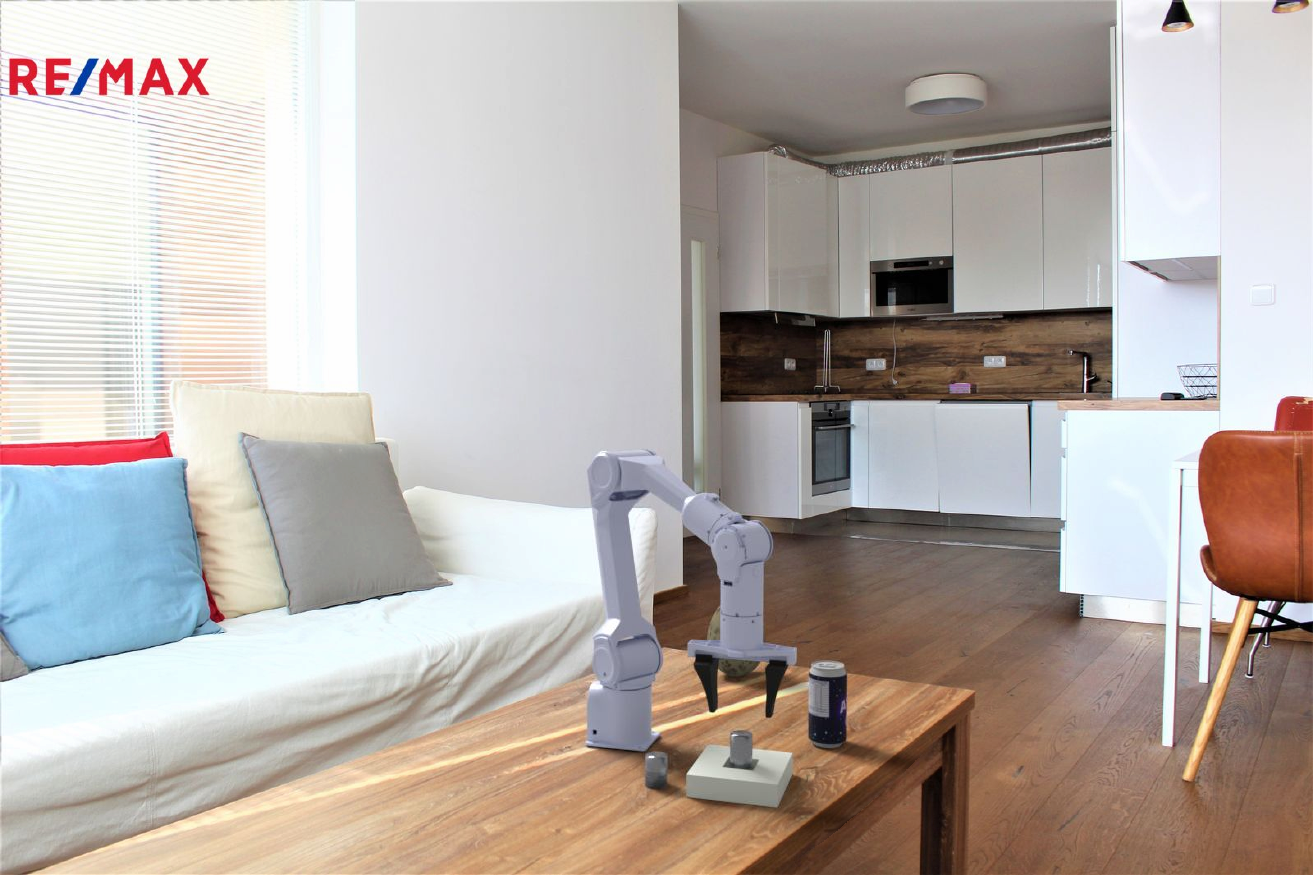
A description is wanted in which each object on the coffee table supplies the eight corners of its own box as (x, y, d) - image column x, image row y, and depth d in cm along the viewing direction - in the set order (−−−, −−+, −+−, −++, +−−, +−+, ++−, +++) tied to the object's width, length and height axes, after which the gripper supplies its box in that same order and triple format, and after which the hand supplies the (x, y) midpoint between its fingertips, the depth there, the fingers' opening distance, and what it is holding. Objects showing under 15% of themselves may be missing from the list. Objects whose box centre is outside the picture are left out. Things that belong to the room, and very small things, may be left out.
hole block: (686, 796, 135) (686, 774, 135) (708, 765, 146) (708, 744, 146) (777, 807, 131) (777, 784, 131) (792, 774, 143) (792, 752, 143)
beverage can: (846, 751, 152) (846, 670, 151) (807, 748, 153) (807, 668, 153) (846, 738, 158) (847, 660, 157) (809, 736, 159) (809, 658, 158)
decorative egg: (715, 666, 199) (715, 589, 198) (770, 671, 195) (771, 592, 195) (700, 681, 189) (700, 599, 188) (757, 686, 185) (758, 603, 184)
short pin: (642, 787, 138) (642, 758, 138) (648, 779, 141) (648, 750, 141) (663, 790, 137) (663, 760, 137) (670, 781, 140) (670, 752, 140)
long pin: (727, 788, 138) (728, 736, 137) (732, 780, 141) (732, 729, 140) (750, 790, 137) (750, 738, 137) (753, 782, 140) (754, 731, 140)
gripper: (681, 615, 136) (681, 717, 137) (791, 622, 132) (790, 727, 132) (695, 604, 143) (694, 701, 143) (799, 611, 139) (798, 711, 139)
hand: (741, 713), depth 138 cm, fingers open, 7 cm apart
